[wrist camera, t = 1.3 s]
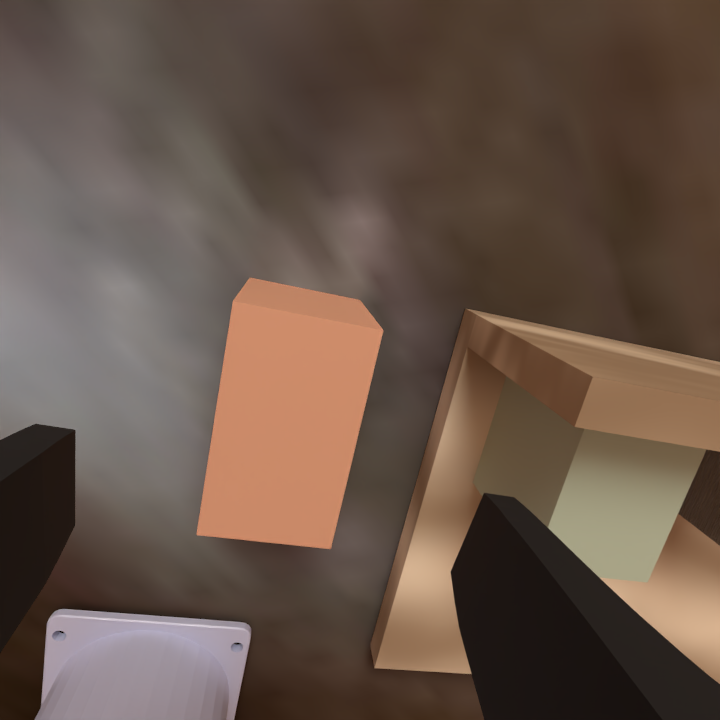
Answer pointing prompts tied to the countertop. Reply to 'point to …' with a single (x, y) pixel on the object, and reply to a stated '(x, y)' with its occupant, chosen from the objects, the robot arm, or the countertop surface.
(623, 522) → the sage green block
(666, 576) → the shelf
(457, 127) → the countertop surface
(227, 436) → the salmon orange block
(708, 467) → the bookend
